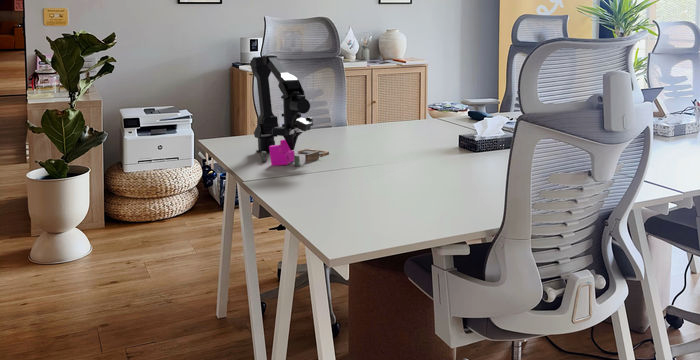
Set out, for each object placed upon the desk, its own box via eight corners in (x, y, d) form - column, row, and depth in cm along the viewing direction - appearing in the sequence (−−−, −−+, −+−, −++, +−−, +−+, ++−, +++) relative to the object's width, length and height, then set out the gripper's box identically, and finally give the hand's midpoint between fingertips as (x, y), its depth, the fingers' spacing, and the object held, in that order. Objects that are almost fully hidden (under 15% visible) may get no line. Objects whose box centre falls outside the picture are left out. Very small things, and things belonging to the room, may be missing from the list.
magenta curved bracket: (286, 164, 281) (284, 145, 279) (271, 165, 283) (269, 146, 281) (298, 156, 295) (296, 138, 294) (284, 157, 297) (281, 139, 295)
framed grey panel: (260, 162, 288) (260, 152, 287) (300, 150, 311) (299, 141, 310) (297, 167, 279) (297, 156, 278) (335, 154, 301) (335, 145, 300)
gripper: (293, 115, 274) (295, 156, 278) (321, 109, 290) (322, 147, 293) (270, 113, 280) (271, 153, 284) (298, 107, 295) (299, 145, 299)
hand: (292, 150), depth 290 cm, fingers closed
